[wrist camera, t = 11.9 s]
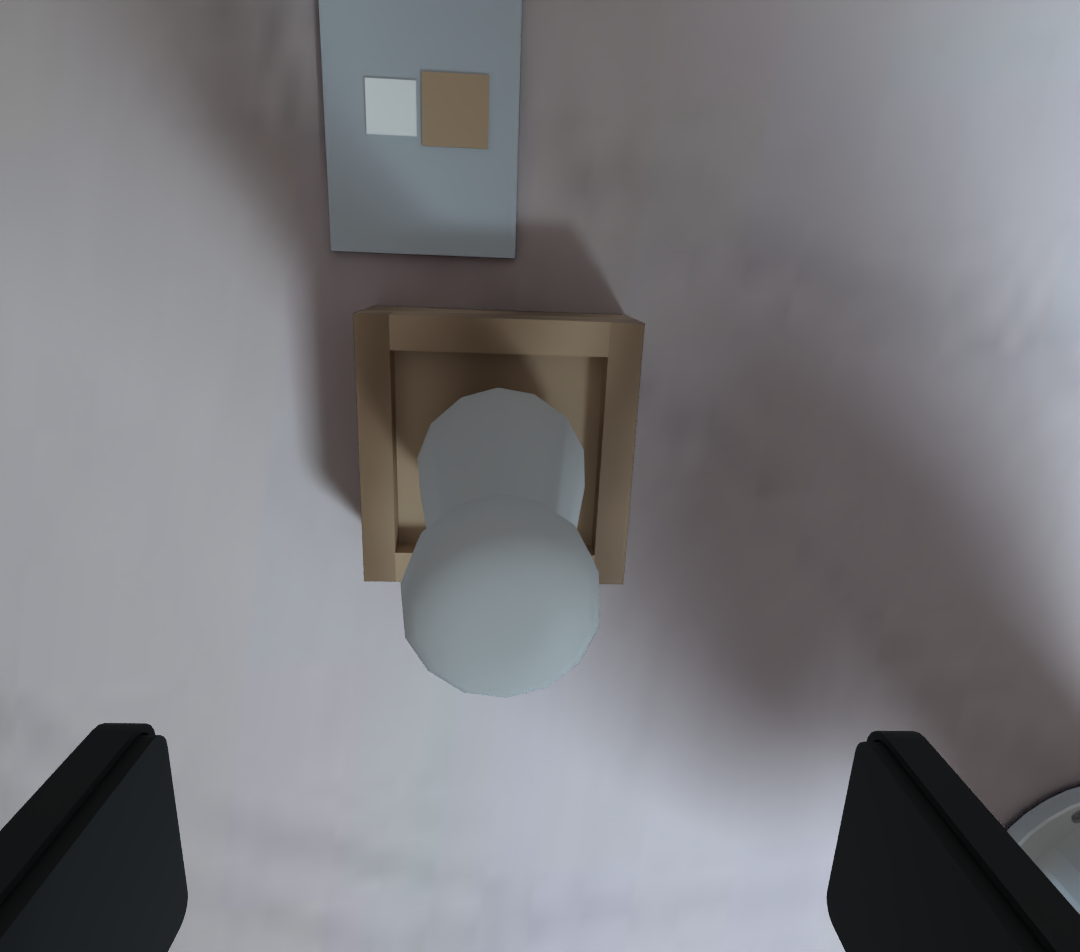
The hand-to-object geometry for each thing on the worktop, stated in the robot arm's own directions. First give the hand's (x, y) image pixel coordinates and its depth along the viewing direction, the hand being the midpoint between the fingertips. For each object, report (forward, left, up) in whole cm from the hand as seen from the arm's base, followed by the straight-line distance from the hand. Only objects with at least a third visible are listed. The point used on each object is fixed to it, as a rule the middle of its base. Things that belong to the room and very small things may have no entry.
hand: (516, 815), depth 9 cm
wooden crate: (0, 0, -21) cm, 21 cm away
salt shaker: (0, 0, -18) cm, 18 cm away
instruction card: (+3, -12, -21) cm, 24 cm away
